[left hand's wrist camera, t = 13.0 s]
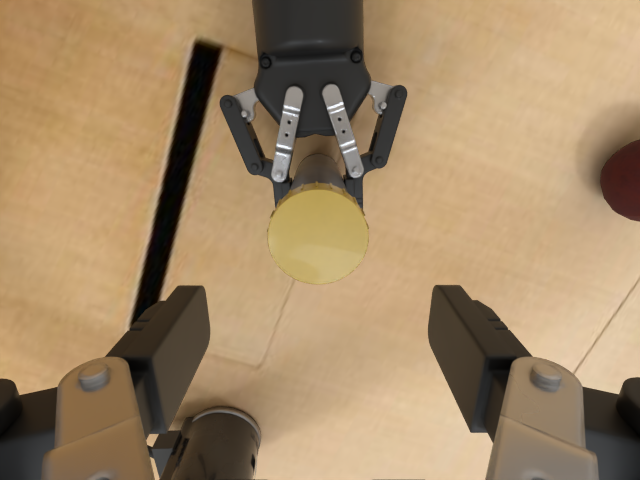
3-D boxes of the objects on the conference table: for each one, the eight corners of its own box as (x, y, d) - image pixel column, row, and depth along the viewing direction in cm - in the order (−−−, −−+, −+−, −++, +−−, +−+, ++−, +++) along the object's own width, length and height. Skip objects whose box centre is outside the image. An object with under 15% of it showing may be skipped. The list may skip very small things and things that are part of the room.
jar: (291, 191, 35) (268, 264, 18) (302, 148, 34) (286, 185, 17) (333, 202, 35) (346, 282, 19) (345, 160, 34) (371, 207, 17)
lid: (261, 260, 20) (256, 273, 18) (282, 169, 18) (278, 175, 16) (350, 281, 20) (352, 295, 19) (378, 195, 19) (383, 202, 17)
